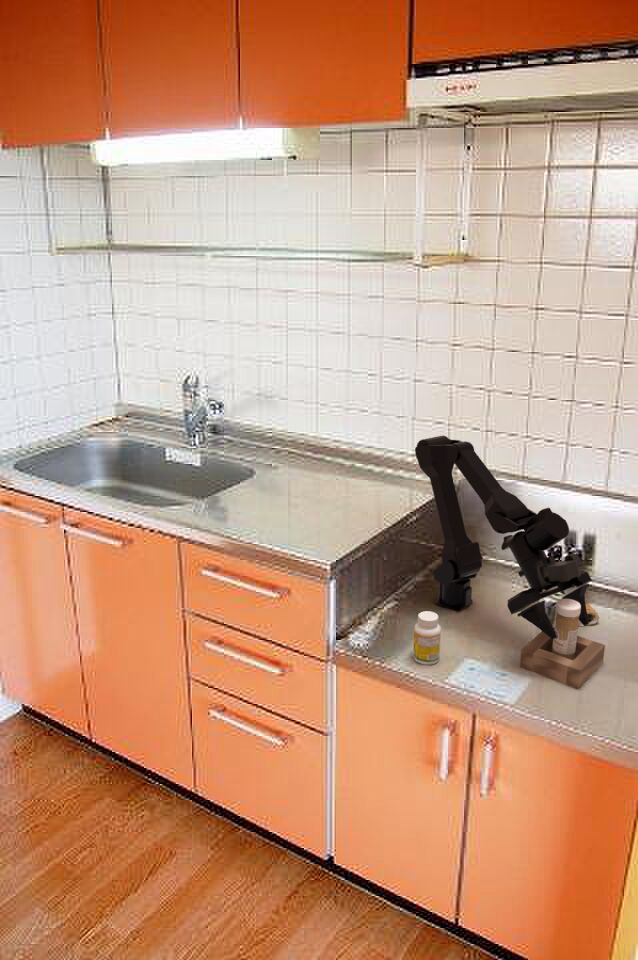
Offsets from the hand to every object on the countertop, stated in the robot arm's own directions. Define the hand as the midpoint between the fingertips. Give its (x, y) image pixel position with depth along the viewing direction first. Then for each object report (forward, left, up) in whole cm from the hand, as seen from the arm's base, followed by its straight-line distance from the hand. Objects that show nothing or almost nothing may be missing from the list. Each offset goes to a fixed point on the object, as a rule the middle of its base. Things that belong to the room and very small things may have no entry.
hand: (571, 631), depth 153 cm
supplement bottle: (-23, -15, -8) cm, 29 cm away
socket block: (-1, 0, -8) cm, 8 cm away
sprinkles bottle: (-1, +1, -8) cm, 8 cm away
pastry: (-7, +21, -9) cm, 24 cm away
